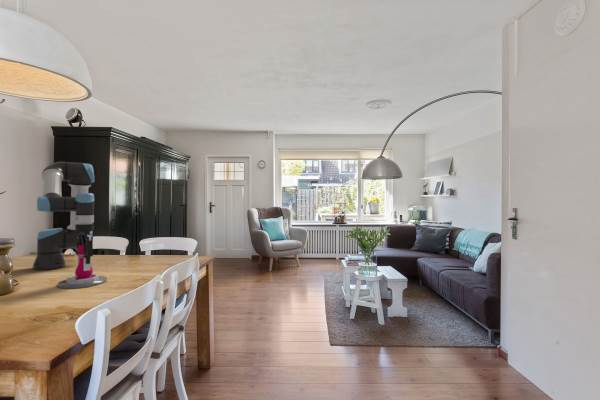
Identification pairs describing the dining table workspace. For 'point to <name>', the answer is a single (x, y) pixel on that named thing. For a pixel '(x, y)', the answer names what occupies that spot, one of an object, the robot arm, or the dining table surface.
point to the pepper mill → (82, 266)
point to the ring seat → (82, 282)
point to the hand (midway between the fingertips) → (83, 269)
